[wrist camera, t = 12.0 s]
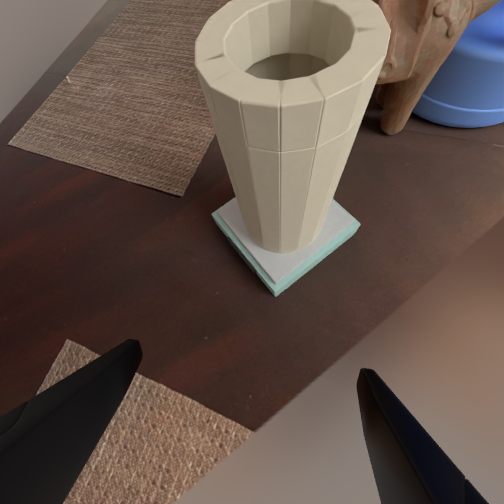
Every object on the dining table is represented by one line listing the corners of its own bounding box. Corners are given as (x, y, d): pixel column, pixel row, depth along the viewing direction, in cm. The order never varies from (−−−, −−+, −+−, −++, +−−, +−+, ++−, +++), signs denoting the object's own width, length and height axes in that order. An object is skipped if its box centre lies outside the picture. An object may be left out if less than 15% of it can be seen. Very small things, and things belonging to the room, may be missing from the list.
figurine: (269, 111, 30) (260, -82, 16) (413, 95, 29) (540, -136, 15) (271, 156, 28) (263, -26, 14) (429, 142, 26) (601, -83, 12)
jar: (329, 248, 20) (419, 83, 7) (248, 258, 21) (193, 120, 8) (314, 181, 23) (361, -34, 10) (242, 190, 23) (194, 0, 10)
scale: (273, 299, 22) (272, 293, 19) (215, 226, 26) (207, 212, 23) (353, 234, 23) (363, 221, 21) (288, 173, 27) (289, 154, 24)
